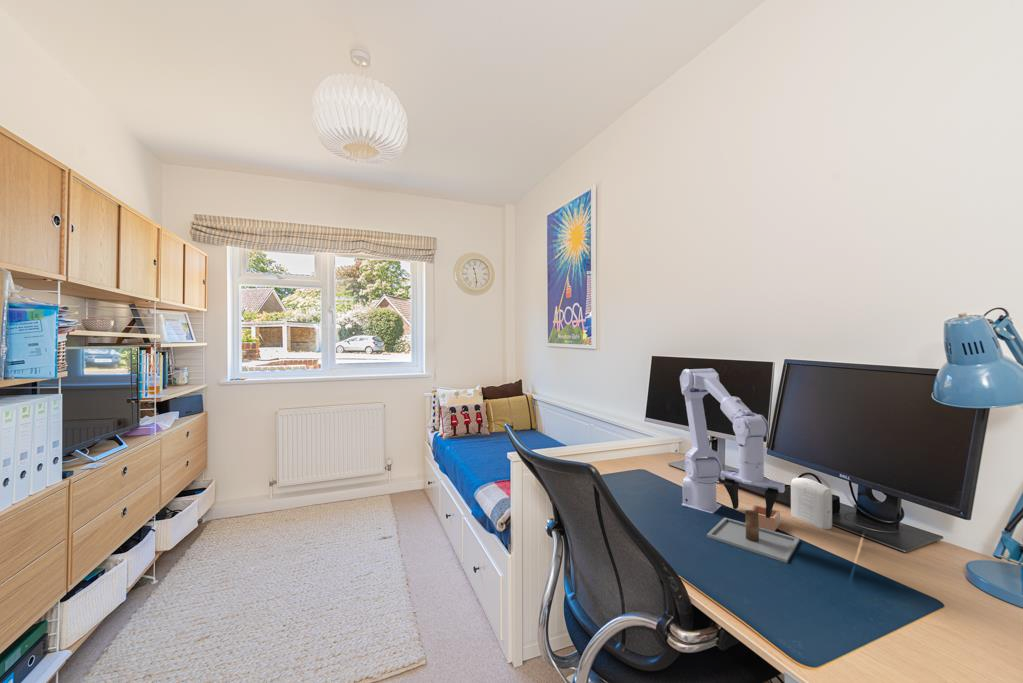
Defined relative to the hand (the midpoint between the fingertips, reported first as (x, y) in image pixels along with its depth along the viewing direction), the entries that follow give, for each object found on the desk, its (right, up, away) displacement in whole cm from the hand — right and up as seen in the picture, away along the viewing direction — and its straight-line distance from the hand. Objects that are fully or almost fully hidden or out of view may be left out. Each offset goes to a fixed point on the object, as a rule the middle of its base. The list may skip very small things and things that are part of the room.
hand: (751, 512), depth 105 cm
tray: (0, -8, 0) cm, 8 cm away
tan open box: (+9, -7, +8) cm, 14 cm away
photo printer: (+23, -7, +9) cm, 26 cm away
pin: (0, -7, 0) cm, 7 cm away
